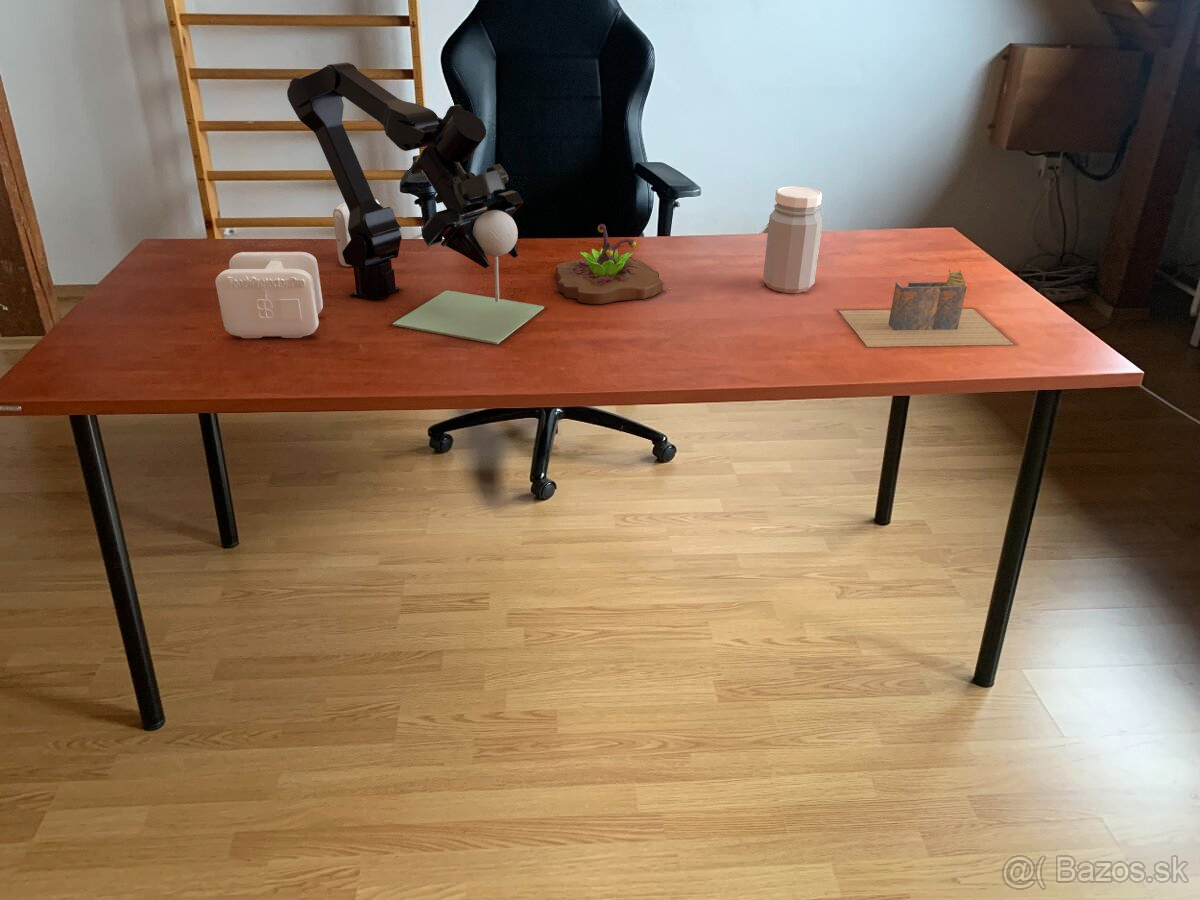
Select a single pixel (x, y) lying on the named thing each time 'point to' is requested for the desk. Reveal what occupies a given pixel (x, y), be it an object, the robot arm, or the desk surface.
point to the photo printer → (342, 229)
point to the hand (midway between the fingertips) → (502, 261)
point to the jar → (793, 240)
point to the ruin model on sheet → (925, 318)
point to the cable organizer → (270, 294)
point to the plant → (607, 276)
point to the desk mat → (469, 316)
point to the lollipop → (495, 237)
